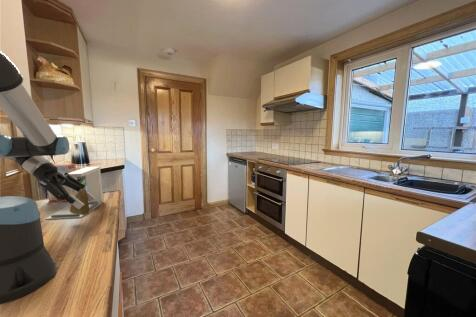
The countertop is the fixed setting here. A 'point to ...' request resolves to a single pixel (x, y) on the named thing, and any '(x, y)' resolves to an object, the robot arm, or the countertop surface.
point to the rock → (84, 199)
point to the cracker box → (64, 169)
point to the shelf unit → (92, 187)
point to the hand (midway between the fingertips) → (87, 203)
